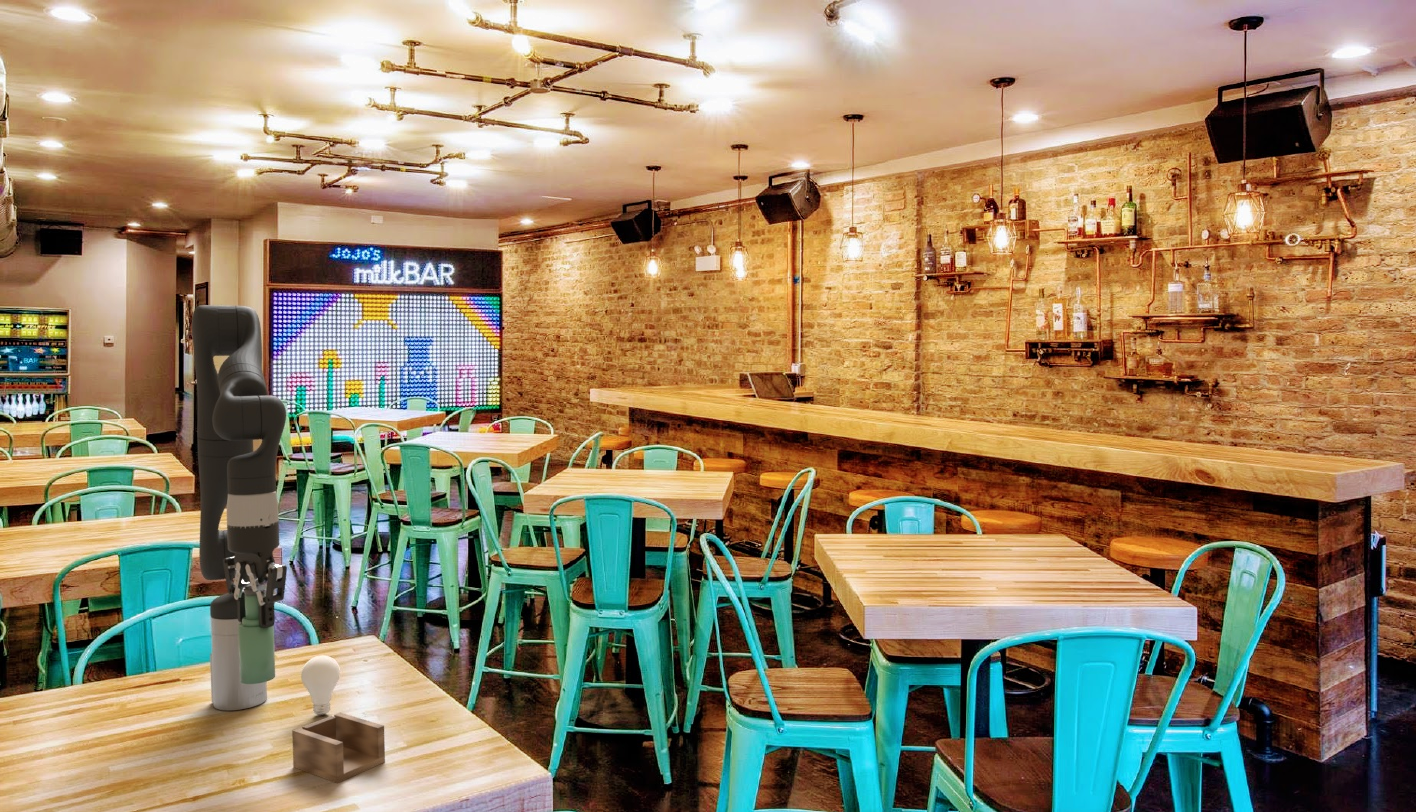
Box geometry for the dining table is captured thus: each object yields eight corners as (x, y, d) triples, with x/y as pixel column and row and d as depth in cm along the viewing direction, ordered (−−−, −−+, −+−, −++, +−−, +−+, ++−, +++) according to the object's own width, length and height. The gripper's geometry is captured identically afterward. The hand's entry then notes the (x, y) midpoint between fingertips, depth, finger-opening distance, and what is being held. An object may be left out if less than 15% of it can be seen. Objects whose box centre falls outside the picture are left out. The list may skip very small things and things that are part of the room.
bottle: (233, 680, 154) (230, 589, 153) (262, 671, 159) (260, 582, 158) (252, 686, 152) (249, 594, 151) (282, 676, 156) (279, 587, 155)
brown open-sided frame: (293, 767, 154) (292, 730, 153) (341, 747, 161) (340, 712, 161) (337, 783, 148) (336, 745, 147) (384, 762, 155) (384, 725, 155)
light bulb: (327, 723, 172) (326, 663, 171) (294, 720, 173) (292, 660, 173) (348, 710, 178) (347, 651, 178) (316, 707, 180) (315, 649, 179)
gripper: (204, 519, 154) (208, 623, 155) (258, 528, 147) (261, 637, 148) (248, 512, 160) (251, 612, 162) (301, 520, 153) (304, 625, 154)
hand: (256, 623), depth 155 cm, fingers closed on bottle, 5 cm apart
